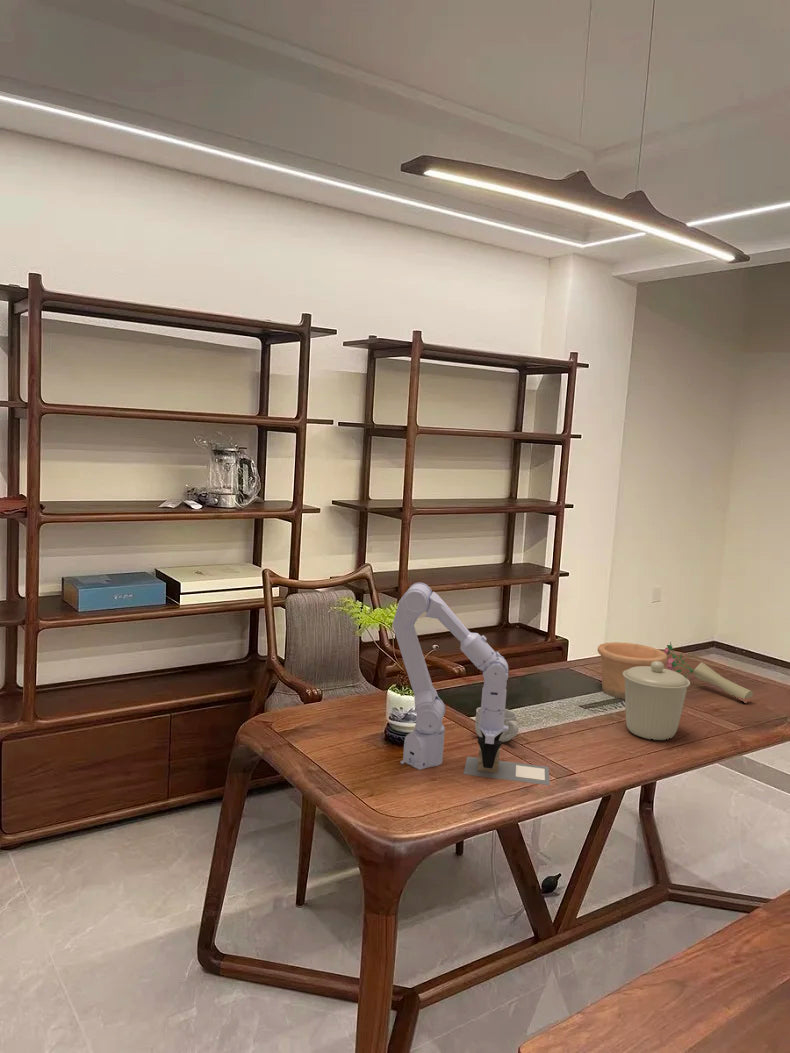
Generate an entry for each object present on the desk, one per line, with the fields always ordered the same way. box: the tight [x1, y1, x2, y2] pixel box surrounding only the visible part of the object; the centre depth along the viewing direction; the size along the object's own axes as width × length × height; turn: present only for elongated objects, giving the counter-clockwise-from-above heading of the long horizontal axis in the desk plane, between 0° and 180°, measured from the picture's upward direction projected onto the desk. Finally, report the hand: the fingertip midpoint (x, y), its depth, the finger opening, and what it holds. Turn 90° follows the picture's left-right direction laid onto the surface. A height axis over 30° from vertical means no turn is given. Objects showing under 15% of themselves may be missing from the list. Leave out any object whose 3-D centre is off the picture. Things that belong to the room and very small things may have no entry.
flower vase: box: [663, 641, 754, 699], centre depth 276 cm, size 12×12×35 cm
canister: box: [623, 661, 691, 741], centre depth 227 cm, size 18×18×21 cm
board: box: [463, 755, 551, 786], centre depth 193 cm, size 20×11×1 cm, turn 80°
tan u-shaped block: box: [477, 745, 501, 773], centre depth 193 cm, size 5×5×6 cm
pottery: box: [597, 641, 668, 700], centre depth 265 cm, size 22×22×14 cm
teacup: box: [474, 706, 519, 743], centre depth 213 cm, size 14×11×8 cm
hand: (488, 762), depth 193 cm, fingers open, 6 cm apart
